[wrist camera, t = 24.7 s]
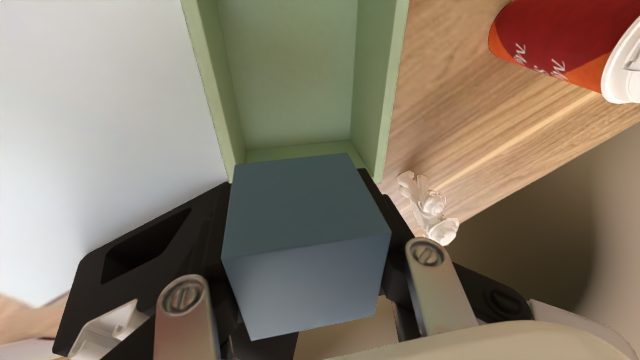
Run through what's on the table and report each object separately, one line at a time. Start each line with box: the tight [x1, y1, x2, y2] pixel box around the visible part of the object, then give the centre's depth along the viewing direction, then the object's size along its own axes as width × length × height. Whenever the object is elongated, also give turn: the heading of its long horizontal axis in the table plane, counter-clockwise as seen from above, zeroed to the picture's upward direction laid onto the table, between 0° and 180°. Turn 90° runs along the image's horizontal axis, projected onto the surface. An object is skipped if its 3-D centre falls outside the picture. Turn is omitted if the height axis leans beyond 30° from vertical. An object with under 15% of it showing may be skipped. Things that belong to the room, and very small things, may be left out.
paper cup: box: [488, 0, 640, 104], centre depth 22 cm, size 8×8×14 cm
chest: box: [180, 0, 409, 184], centre depth 23 cm, size 16×14×9 cm
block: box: [221, 153, 392, 341], centre depth 10 cm, size 4×4×4 cm
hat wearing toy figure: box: [397, 171, 459, 246], centre depth 33 cm, size 9×4×12 cm, turn 19°
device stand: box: [52, 182, 299, 360], centre depth 34 cm, size 22×22×15 cm
